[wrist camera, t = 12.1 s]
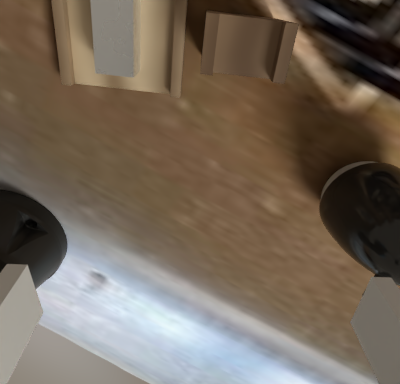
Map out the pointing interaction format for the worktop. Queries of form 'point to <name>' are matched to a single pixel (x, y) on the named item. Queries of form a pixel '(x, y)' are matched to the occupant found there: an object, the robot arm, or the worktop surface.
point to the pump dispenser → (365, 215)
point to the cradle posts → (247, 45)
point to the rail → (116, 36)
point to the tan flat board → (150, 46)
